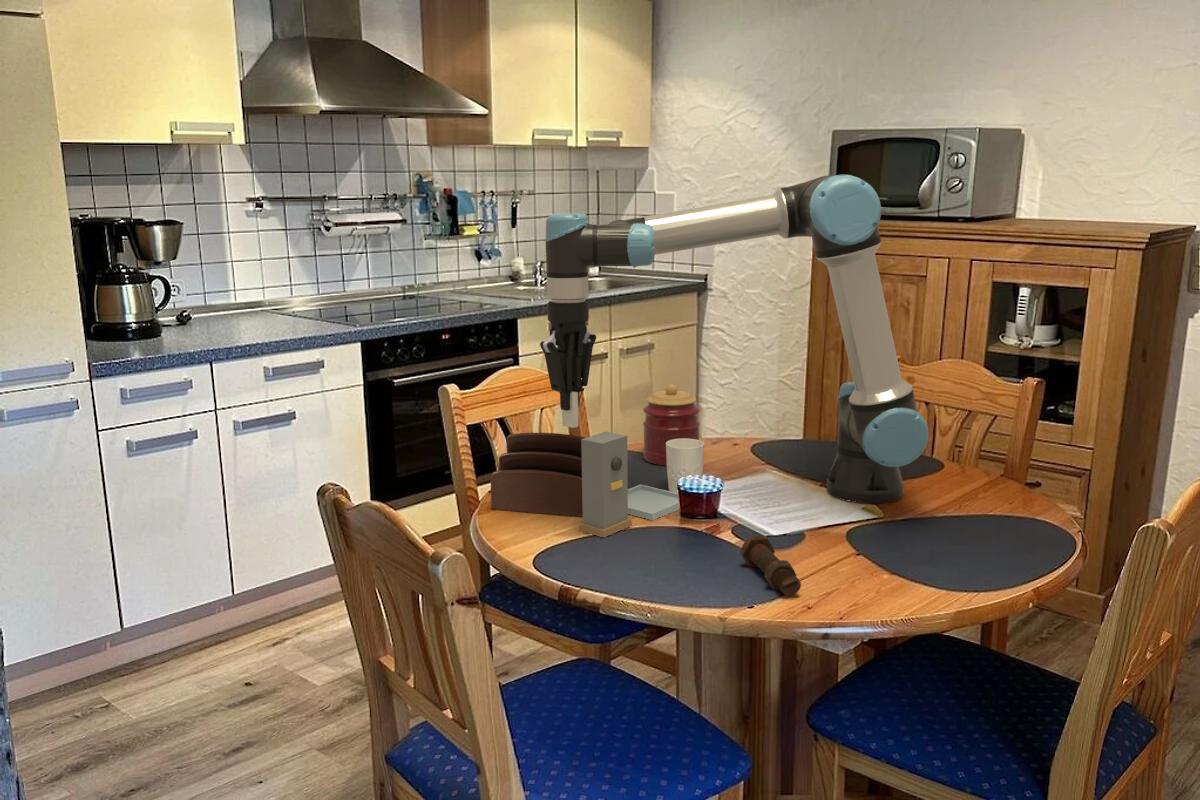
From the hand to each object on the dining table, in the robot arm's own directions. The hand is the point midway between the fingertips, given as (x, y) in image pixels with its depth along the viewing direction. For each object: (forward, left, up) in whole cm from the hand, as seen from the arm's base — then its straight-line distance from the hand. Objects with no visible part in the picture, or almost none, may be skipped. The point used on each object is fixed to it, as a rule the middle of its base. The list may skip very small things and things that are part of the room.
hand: (570, 425), depth 186 cm
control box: (-8, 0, -18) cm, 20 cm away
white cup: (-6, -28, -19) cm, 34 cm away
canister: (+10, -45, -19) cm, 50 cm away
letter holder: (+9, -3, -19) cm, 21 cm away
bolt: (-45, +2, -19) cm, 49 cm away
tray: (-6, -15, -18) cm, 25 cm away
